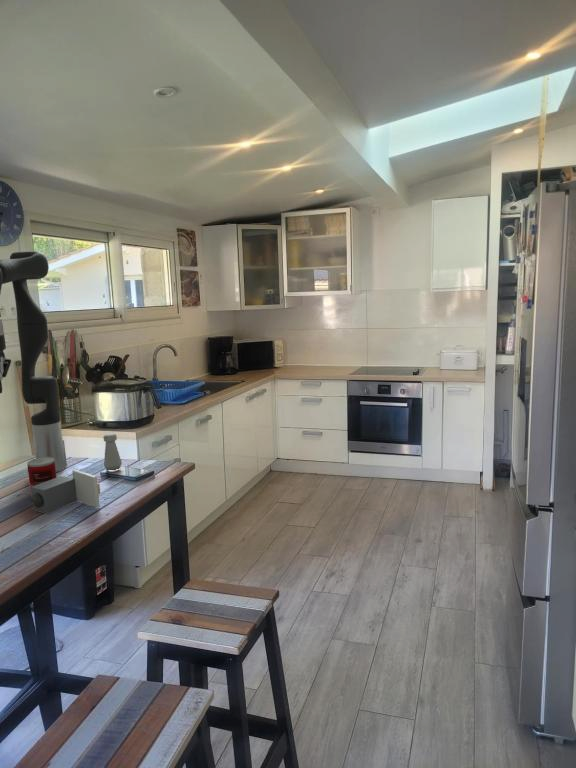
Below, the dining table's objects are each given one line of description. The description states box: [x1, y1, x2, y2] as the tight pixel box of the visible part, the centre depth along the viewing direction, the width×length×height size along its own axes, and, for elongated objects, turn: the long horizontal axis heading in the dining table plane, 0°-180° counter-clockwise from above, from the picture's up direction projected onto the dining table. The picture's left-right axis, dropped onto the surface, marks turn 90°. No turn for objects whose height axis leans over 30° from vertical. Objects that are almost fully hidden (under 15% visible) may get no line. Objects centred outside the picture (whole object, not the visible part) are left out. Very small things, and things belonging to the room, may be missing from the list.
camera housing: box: [30, 469, 78, 515], centre depth 162 cm, size 12×6×9 cm, turn 149°
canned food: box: [27, 457, 57, 496], centre depth 171 cm, size 8×8×11 cm
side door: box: [74, 469, 101, 509], centre depth 162 cm, size 10×2×9 cm, turn 51°
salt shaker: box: [103, 432, 122, 471], centre depth 192 cm, size 6×6×13 cm
